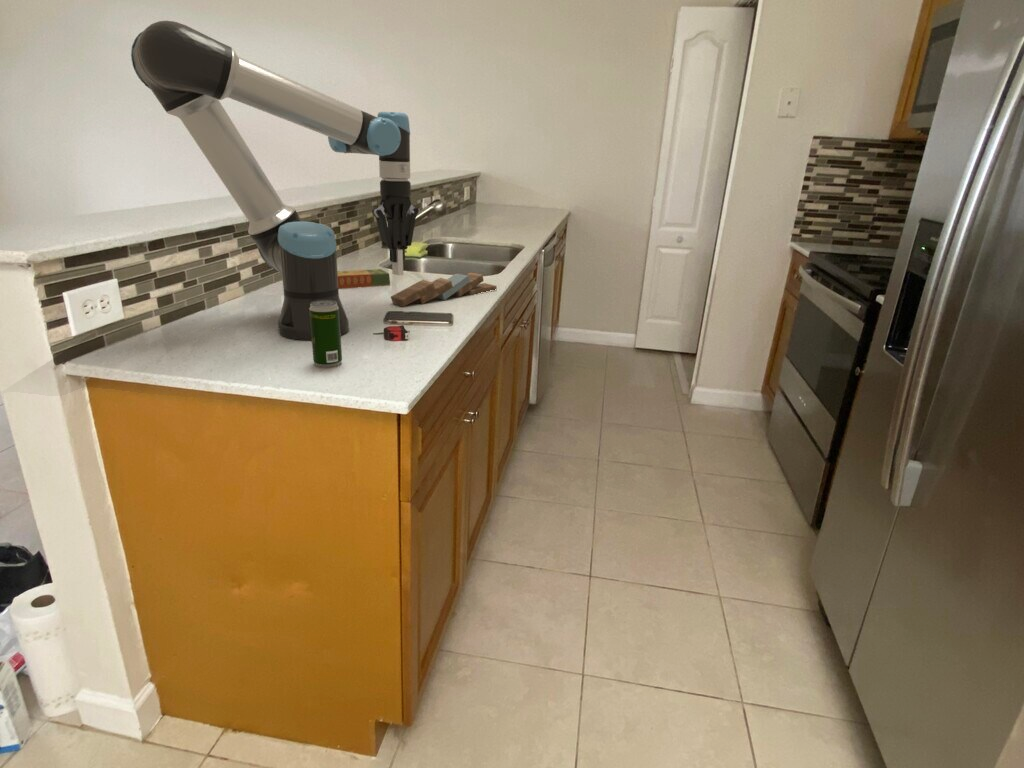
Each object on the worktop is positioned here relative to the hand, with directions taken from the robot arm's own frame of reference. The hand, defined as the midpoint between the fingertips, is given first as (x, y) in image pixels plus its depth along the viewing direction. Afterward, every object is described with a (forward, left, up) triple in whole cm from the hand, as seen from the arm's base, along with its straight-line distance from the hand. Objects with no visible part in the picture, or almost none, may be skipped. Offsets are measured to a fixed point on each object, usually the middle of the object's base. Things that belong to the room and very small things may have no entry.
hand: (397, 274), depth 163 cm
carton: (-11, +27, -9) cm, 30 cm away
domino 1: (0, 0, -7) cm, 7 cm away
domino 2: (+5, +3, -8) cm, 9 cm away
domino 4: (+15, +11, -7) cm, 20 cm away
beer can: (-14, -46, -9) cm, 49 cm away
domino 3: (+11, +7, -7) cm, 15 cm away
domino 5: (+19, +14, -8) cm, 25 cm away
